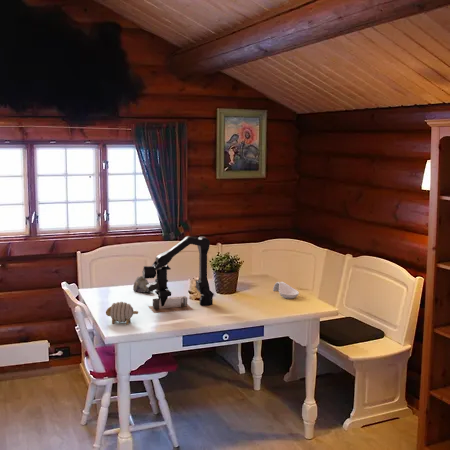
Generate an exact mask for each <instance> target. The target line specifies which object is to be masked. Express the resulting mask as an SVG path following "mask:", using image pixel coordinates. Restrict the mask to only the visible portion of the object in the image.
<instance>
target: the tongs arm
mask: <svg viewBox="0 0 450 450" xmlns="http://www.w3.org/2000/svg"><path fill="white" fill-rule="evenodd" d="M180 297H181V298H170V297H168V298H169V299H167V300H166V302H165V304H164V306H161V300H160V299H157V298H155V299H156V300H153V299H152V303H153V302H154V309H162V308H174V307H184V297H183V296H180Z"/></svg>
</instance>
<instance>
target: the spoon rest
mask: <svg viewBox="0 0 450 450" xmlns="http://www.w3.org/2000/svg"><path fill="white" fill-rule="evenodd" d="M272 288H273V289H272V291H273V292H278V293H279V295H280V297H282V298H283V299H287V300H292V299H295V298H297V297H298V295H299V293H300V292H299V291H298V290H297V289H295V288H293V287H292V286H291V285H289V284H287V283H286V282H284V281H276V282H275V283H274V285H273V287H272Z"/></svg>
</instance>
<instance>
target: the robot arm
mask: <svg viewBox="0 0 450 450" xmlns="http://www.w3.org/2000/svg"><path fill="white" fill-rule="evenodd" d="M190 245H193V246H197V249H198V252H199V257H198V259H199V260H198V261H199V263H198V265H199V266H198V271H199V272H198V273H199V275H198V280H195V288H196V290H197V292H199V293H200V298H199V306H204V307H210V306H212V305H213V304H214V303H213V299H214V298H213V297H214V292H213V291H211V288H210V282H209V280H208V253H209V250H210V245H211V241H210V239H208V238H207V237H206V236H199V237H198V236H190V235H187V236H185V237H184V238H183V239H181V241H179V242H178V243H176V244H175V245H174V246H172V247H170V249H168V250H166V251H164V252H161V253H159V254H157V255H156V256H155V260H154V262H153V263H152V264H151V265H144V266H143V267H142V268H143V269H142V273H141V275H142V276H143V279H146V280H148V279H155V281H153V282H151V283H149V284H148V285H146V287H147V290H148V291H149V292H148V293H153V292H154V293H155V294H156V295H157V298H160V300H161V306H164V304H165V302H166V300H167V298H169V297H172V291H170V289H169V286H168V282H169V280H168V270H171V269H172V268H171V267H170V266H169V265H168V264H169V263H170V262H171V261H172V259H173V258H174V257H175V256H176V255H177V254H179V253H181V252H182V251H183V250H184V249H185V248H187V247H188V246H190ZM152 291H153V292H152Z"/></svg>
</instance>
